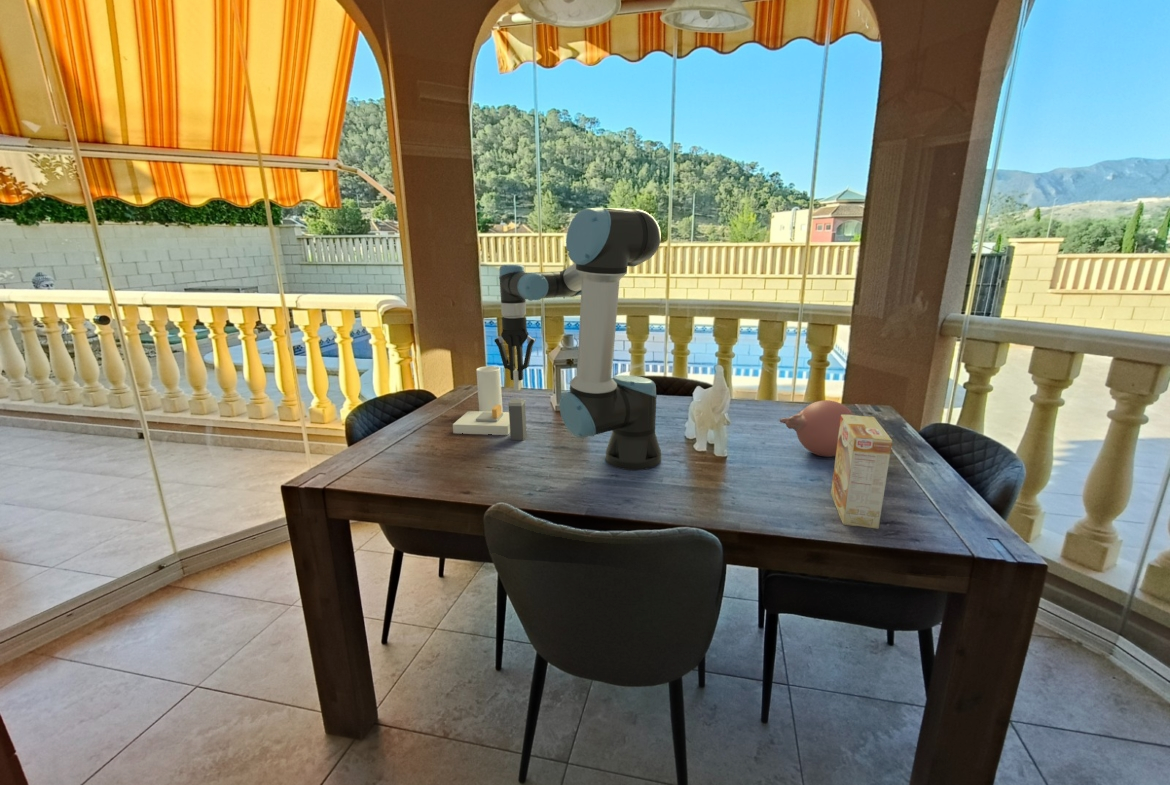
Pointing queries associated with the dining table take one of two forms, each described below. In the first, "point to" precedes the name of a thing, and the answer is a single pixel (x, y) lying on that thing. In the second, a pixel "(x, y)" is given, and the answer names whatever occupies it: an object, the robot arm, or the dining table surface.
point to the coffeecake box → (860, 470)
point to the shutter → (491, 415)
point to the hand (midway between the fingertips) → (517, 389)
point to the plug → (517, 419)
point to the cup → (489, 388)
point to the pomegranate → (818, 426)
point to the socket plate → (481, 424)
